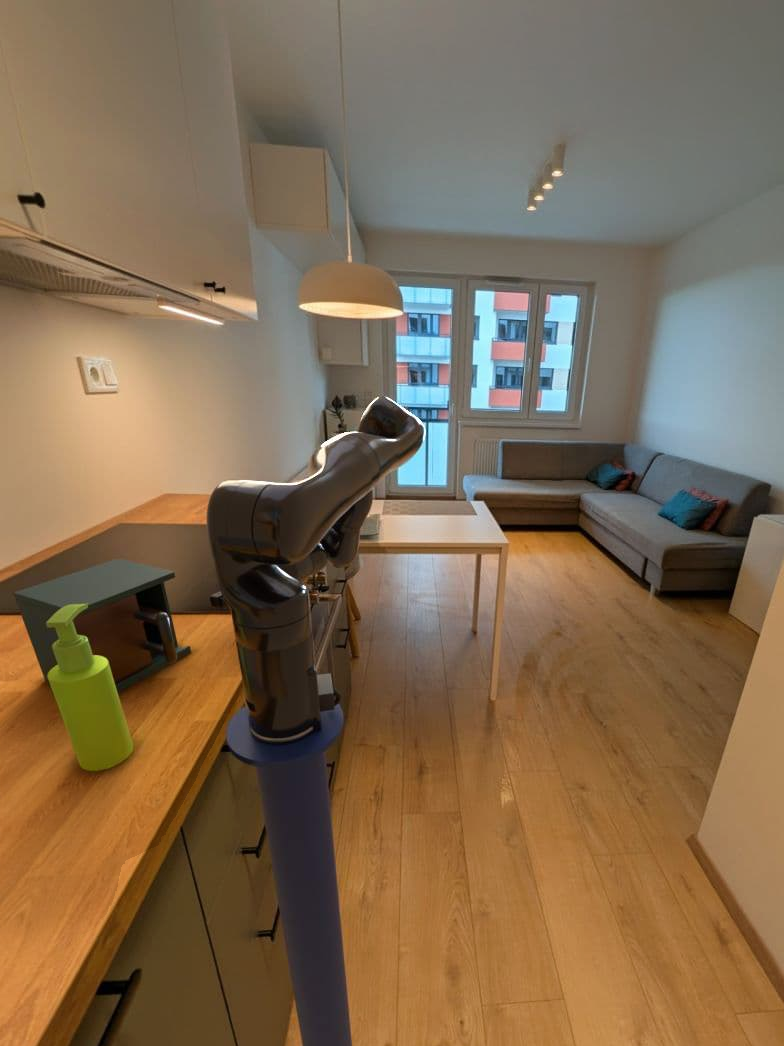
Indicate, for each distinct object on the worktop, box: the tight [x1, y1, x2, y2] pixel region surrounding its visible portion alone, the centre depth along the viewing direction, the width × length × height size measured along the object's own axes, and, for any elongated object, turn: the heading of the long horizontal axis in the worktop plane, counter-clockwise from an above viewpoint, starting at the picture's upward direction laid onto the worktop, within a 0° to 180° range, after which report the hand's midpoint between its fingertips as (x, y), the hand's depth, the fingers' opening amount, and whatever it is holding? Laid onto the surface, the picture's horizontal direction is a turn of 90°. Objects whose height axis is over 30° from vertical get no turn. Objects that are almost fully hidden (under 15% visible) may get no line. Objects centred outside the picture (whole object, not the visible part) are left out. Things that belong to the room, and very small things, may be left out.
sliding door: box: [73, 594, 178, 685], centre depth 75 cm, size 8×10×13 cm
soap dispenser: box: [46, 604, 134, 772], centre depth 61 cm, size 6×7×20 cm
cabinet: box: [13, 558, 192, 694], centre depth 80 cm, size 13×16×15 cm
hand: (213, 602), depth 84 cm, fingers closed
